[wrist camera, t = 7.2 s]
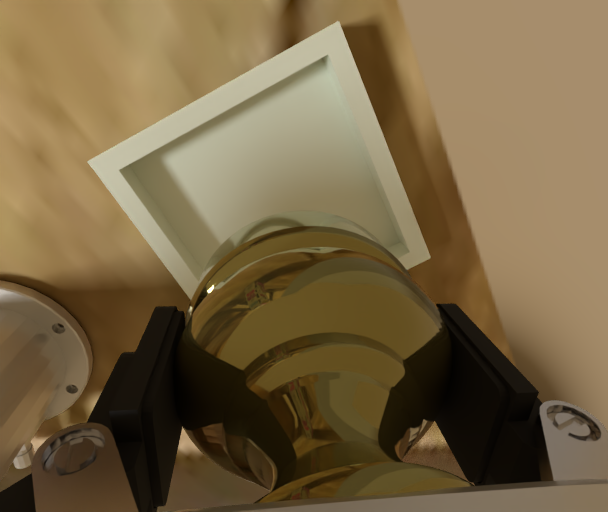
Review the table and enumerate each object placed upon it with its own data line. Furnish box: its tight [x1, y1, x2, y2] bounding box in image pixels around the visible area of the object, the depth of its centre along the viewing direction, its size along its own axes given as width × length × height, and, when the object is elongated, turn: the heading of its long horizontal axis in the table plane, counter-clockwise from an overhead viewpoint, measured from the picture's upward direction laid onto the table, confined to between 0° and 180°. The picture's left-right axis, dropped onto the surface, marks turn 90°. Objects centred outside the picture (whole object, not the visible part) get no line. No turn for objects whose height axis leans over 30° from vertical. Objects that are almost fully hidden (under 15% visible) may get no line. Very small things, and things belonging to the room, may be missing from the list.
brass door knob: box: [173, 211, 474, 503], centre depth 9 cm, size 7×7×10 cm
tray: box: [87, 21, 431, 300], centre depth 26 cm, size 16×16×3 cm
